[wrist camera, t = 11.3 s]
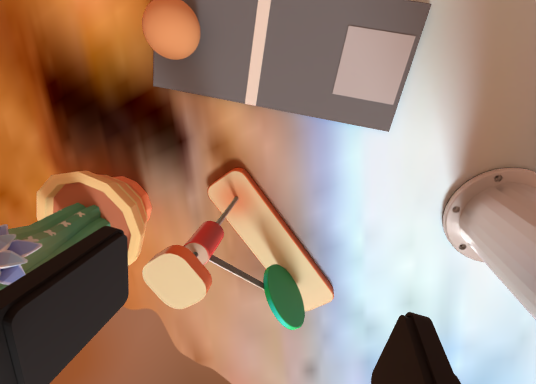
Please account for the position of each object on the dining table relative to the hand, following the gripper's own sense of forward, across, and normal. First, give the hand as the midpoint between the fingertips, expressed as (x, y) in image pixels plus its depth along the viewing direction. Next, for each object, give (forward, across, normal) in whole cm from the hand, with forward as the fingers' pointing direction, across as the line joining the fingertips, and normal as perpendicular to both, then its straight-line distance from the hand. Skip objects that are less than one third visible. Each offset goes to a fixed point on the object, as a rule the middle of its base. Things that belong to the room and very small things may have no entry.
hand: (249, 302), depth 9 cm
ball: (+25, +17, -9) cm, 32 cm away
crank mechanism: (+30, +2, +16) cm, 34 cm away
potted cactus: (+29, +26, +16) cm, 42 cm away
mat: (+29, +6, -10) cm, 31 cm away
